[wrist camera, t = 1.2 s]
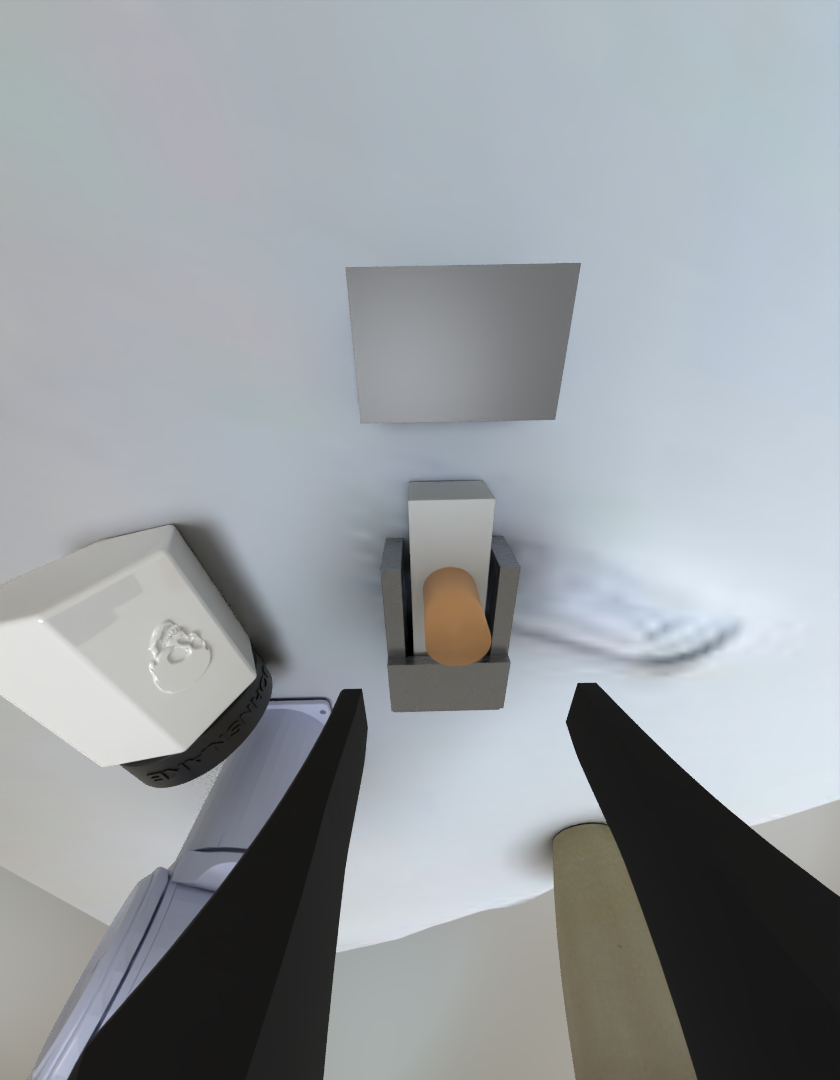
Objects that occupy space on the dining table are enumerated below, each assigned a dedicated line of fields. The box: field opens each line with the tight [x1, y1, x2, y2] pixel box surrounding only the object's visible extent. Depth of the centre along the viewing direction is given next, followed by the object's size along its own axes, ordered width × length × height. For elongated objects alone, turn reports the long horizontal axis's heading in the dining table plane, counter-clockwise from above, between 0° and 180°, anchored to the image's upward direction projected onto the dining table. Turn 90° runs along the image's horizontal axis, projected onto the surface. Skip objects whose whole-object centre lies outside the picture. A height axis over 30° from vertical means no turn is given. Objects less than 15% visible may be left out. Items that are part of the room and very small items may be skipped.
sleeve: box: [381, 536, 520, 712], centre depth 19 cm, size 11×7×4 cm, turn 1°
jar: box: [0, 525, 272, 788], centre depth 18 cm, size 9×8×12 cm
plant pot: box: [553, 824, 697, 1080], centre depth 30 cm, size 15×15×16 cm
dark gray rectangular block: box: [346, 263, 581, 424], centre depth 13 cm, size 4×7×4 cm, turn 91°
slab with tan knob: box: [408, 480, 495, 666], centre depth 17 cm, size 13×4×7 cm, turn 1°
